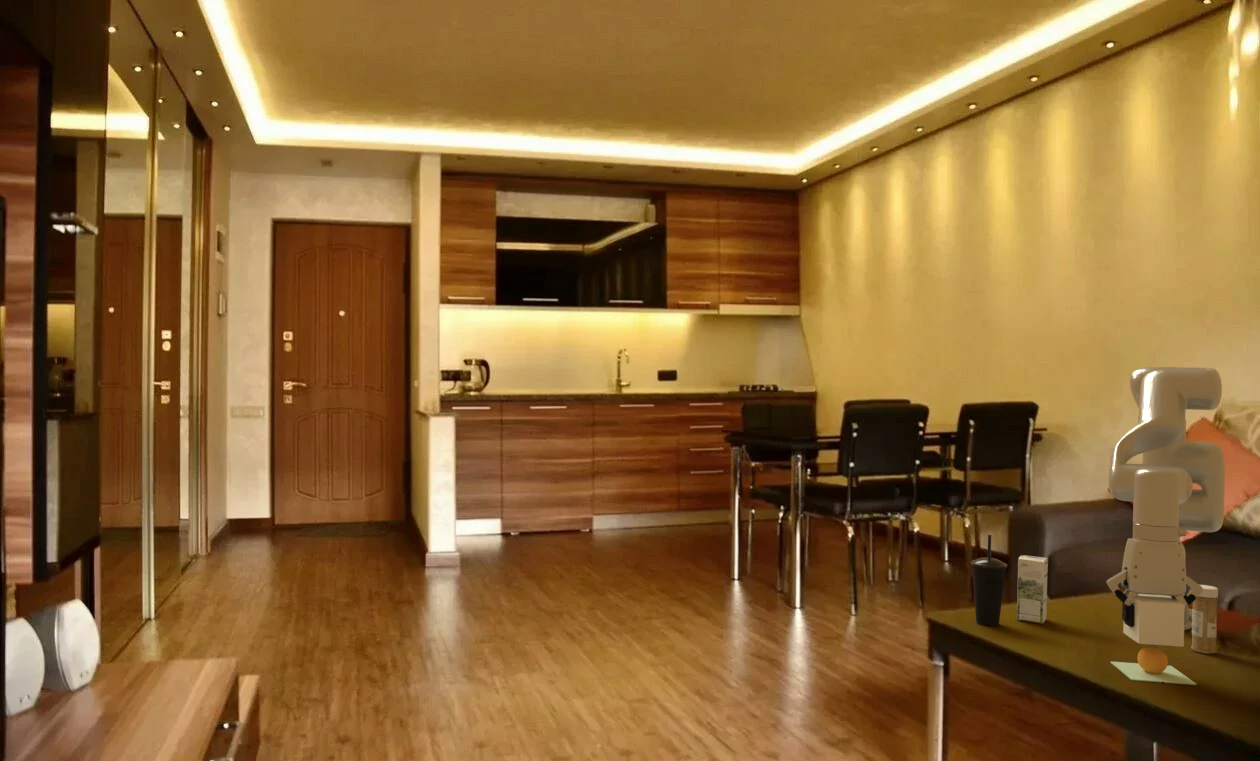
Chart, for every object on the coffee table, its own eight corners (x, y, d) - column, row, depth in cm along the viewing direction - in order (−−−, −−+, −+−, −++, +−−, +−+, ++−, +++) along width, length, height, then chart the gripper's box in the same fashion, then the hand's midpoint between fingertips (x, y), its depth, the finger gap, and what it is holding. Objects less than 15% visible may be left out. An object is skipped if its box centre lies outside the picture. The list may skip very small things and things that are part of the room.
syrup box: (1046, 619, 212) (1048, 557, 212) (1042, 624, 207) (1044, 560, 207) (1020, 615, 215) (1022, 553, 215) (1016, 620, 210) (1017, 557, 210)
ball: (1175, 664, 169) (1167, 679, 172) (1166, 641, 173) (1158, 656, 176) (1146, 663, 170) (1138, 678, 173) (1137, 640, 173) (1131, 655, 176)
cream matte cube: (1166, 635, 175) (1167, 595, 176) (1183, 646, 168) (1184, 604, 168) (1123, 632, 177) (1124, 592, 177) (1138, 643, 169) (1139, 601, 169)
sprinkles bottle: (1219, 655, 186) (1221, 589, 186) (1194, 653, 187) (1195, 587, 187) (1212, 649, 190) (1214, 585, 190) (1187, 647, 191) (1189, 583, 191)
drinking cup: (999, 619, 210) (1001, 533, 210) (1010, 628, 203) (1012, 538, 203) (965, 618, 211) (967, 531, 211) (974, 626, 203) (977, 537, 203)
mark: (1171, 666, 177) (1171, 665, 177) (1196, 685, 166) (1196, 683, 166) (1110, 662, 179) (1110, 661, 179) (1131, 680, 168) (1131, 679, 168)
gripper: (1196, 533, 175) (1194, 625, 175) (1099, 528, 178) (1097, 618, 177) (1214, 539, 167) (1212, 635, 167) (1113, 534, 170) (1110, 628, 170)
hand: (1153, 626), depth 172 cm, fingers closed on cream matte cube, 7 cm apart
